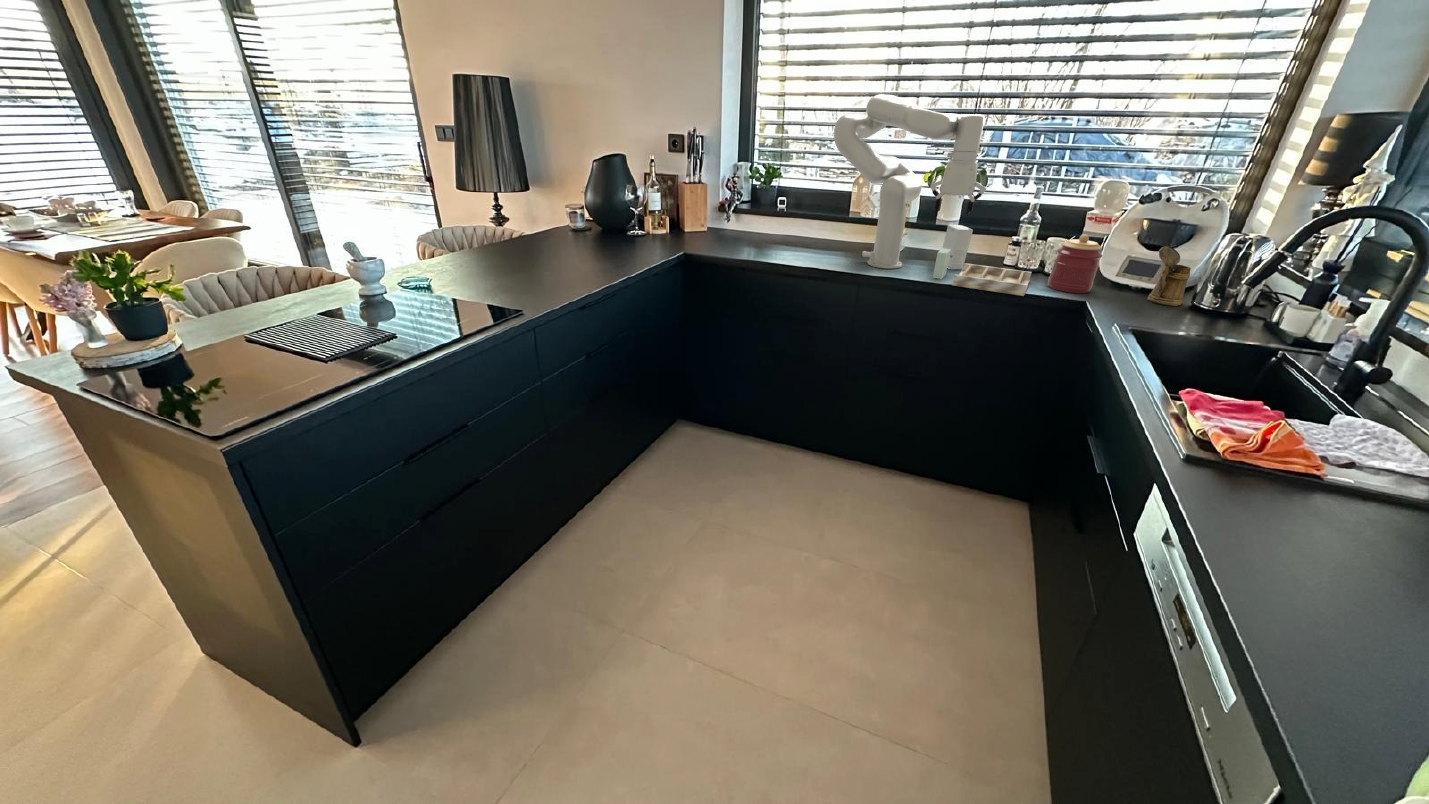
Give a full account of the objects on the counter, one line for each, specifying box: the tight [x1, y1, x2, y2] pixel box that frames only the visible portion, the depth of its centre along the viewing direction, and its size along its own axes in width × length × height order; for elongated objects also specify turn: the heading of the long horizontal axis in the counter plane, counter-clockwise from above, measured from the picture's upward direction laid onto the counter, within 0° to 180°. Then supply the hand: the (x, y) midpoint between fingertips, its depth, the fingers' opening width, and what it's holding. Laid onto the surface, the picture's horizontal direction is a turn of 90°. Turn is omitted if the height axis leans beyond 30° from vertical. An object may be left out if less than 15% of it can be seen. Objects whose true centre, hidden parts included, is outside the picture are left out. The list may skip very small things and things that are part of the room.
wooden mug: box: [1146, 245, 1192, 307], centre depth 170 cm, size 9×14×18 cm, turn 110°
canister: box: [1047, 234, 1103, 294], centre depth 183 cm, size 13×13×18 cm
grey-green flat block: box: [932, 247, 951, 280], centre depth 196 cm, size 3×8×9 cm, turn 149°
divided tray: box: [951, 262, 1032, 297], centre depth 189 cm, size 22×20×4 cm
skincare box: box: [942, 224, 974, 270], centre depth 207 cm, size 8×6×15 cm
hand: (952, 212), depth 187 cm, fingers open, 9 cm apart
